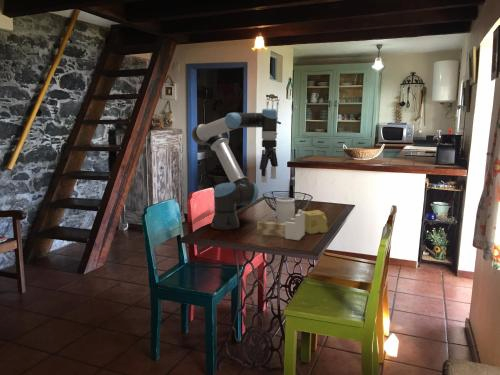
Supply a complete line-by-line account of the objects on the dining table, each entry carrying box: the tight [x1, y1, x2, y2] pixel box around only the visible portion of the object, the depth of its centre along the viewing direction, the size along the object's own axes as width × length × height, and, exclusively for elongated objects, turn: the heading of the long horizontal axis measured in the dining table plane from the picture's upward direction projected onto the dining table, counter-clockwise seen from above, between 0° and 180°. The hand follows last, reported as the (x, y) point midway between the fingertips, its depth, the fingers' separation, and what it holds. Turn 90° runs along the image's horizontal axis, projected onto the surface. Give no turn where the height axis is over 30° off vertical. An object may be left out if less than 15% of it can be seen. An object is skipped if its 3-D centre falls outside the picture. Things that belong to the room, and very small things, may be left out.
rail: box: [256, 220, 285, 238], centre depth 211 cm, size 20×4×6 cm, turn 68°
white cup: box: [275, 197, 296, 223], centre depth 229 cm, size 11×10×15 cm
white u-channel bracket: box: [284, 209, 306, 241], centre depth 207 cm, size 7×11×14 cm, turn 158°
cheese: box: [305, 209, 328, 235], centre depth 218 cm, size 10×11×10 cm
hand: (268, 180), depth 218 cm, fingers open, 13 cm apart
